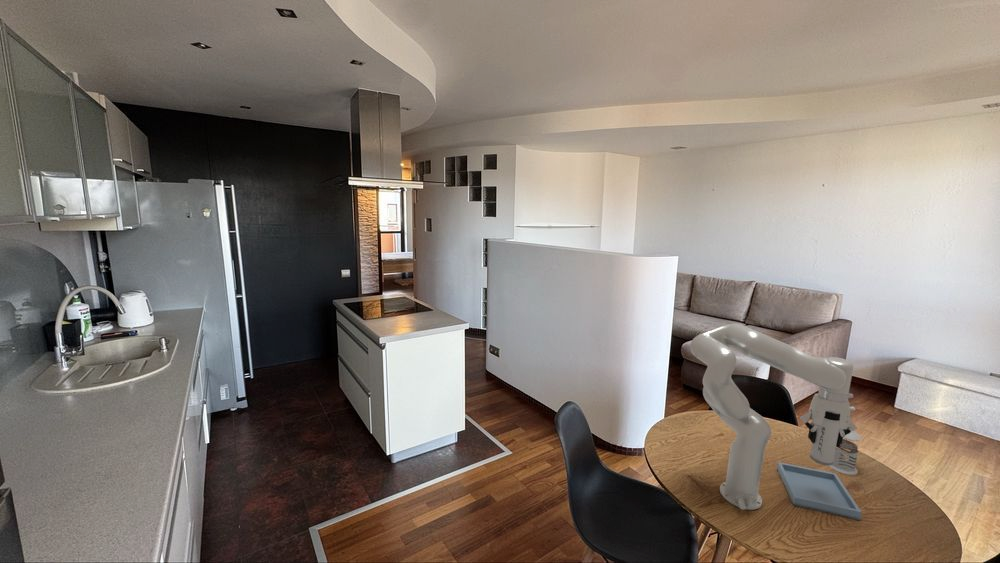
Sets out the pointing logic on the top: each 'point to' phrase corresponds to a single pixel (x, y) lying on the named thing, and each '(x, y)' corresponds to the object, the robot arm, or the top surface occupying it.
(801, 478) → the tray
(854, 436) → the french press
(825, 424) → the travel mug
